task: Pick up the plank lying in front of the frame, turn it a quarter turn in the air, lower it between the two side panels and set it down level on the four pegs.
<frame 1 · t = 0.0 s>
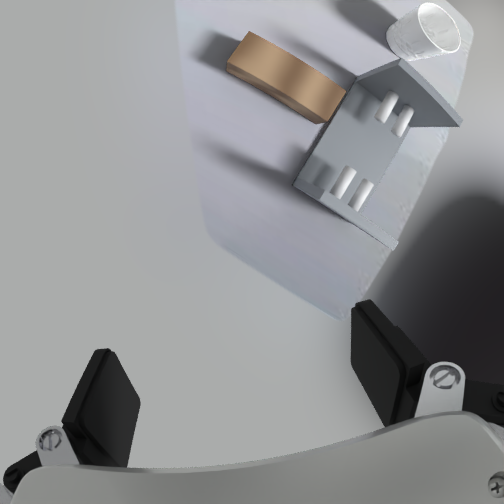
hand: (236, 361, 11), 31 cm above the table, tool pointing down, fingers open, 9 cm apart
shelf board: (281, 82, 35), on the table
white cup: (402, 42, 34), on the table
peg frame: (357, 149, 39), on the table
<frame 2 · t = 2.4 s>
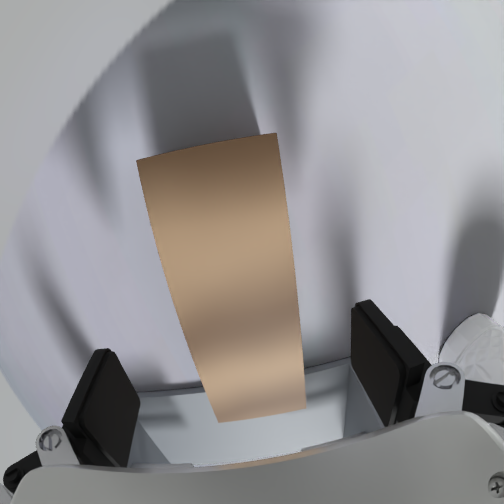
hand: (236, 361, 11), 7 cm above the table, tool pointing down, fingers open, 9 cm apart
shelf board: (235, 269, 17), on the table
white cup: (463, 342, 22), on the table
peg frame: (245, 424, 22), on the table
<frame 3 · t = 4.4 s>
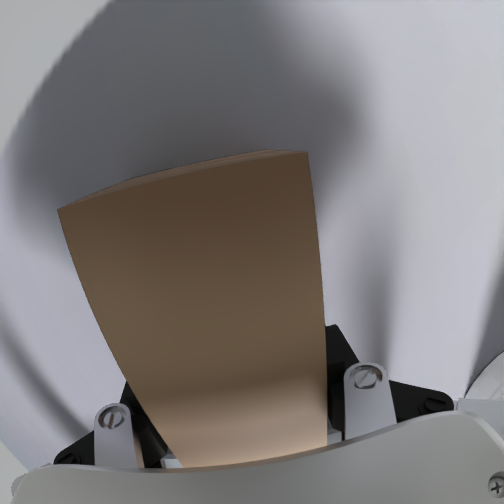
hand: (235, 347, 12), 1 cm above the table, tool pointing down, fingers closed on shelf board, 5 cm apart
shelf board: (233, 334, 12), on the table, touching gripper
white cup: (489, 379, 17), on the table
peg frame: (248, 480, 17), on the table
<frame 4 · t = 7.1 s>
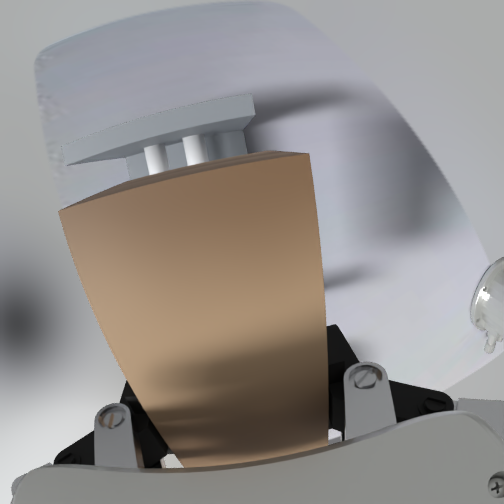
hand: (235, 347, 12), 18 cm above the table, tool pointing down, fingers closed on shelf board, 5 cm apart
shelf board: (234, 335, 12), point 17 cm above the table, touching gripper
peg frame: (201, 229, 28), on the table
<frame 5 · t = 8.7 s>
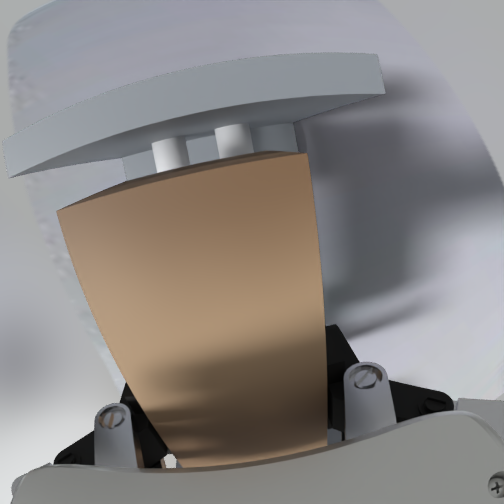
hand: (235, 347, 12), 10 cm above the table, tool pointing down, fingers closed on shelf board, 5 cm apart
shelf board: (233, 335, 12), point 9 cm above the table, touching gripper
peg frame: (230, 260, 21), on the table
when the fingers open (7 cm above the table, at t = 10.0 s): shelf board stays where it is, resting on peg frame.
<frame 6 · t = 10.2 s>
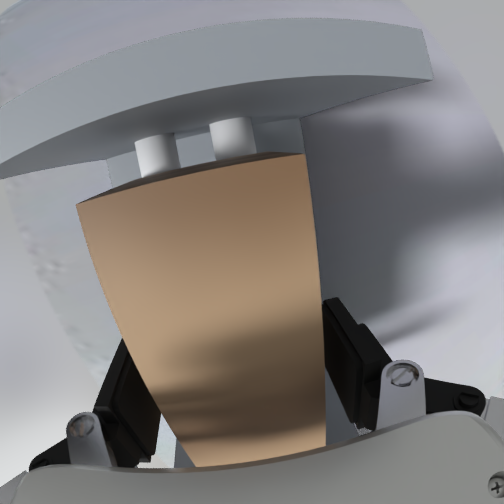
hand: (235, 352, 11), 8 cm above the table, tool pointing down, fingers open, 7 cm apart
shelf board: (236, 327, 13), point 6 cm above the table, touching peg frame
peg frame: (229, 273, 18), on the table
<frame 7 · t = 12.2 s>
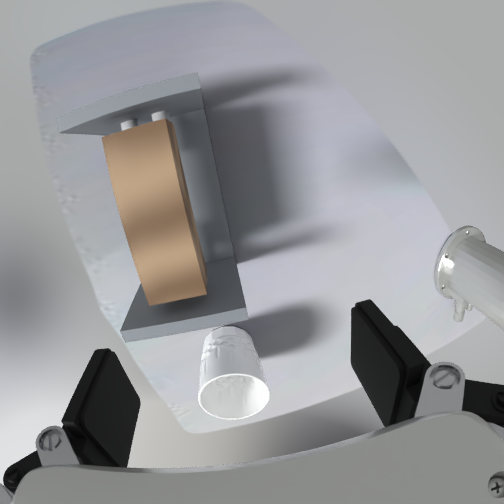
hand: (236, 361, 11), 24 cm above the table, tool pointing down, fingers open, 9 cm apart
shelf board: (163, 205, 26), point 6 cm above the table, touching peg frame
white cup: (228, 344, 39), on the table
peg frame: (170, 195, 32), on the table
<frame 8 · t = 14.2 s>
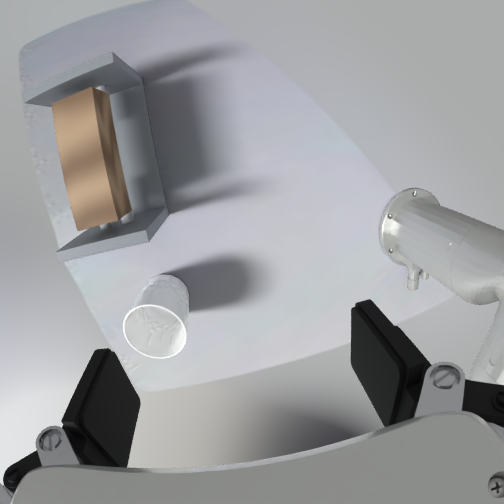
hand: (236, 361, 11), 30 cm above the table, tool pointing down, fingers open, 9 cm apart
shelf board: (99, 157, 30), point 6 cm above the table, touching peg frame
white cup: (166, 294, 43), on the table
peg frame: (115, 155, 35), on the table
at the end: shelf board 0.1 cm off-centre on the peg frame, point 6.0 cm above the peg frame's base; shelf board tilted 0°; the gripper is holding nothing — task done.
